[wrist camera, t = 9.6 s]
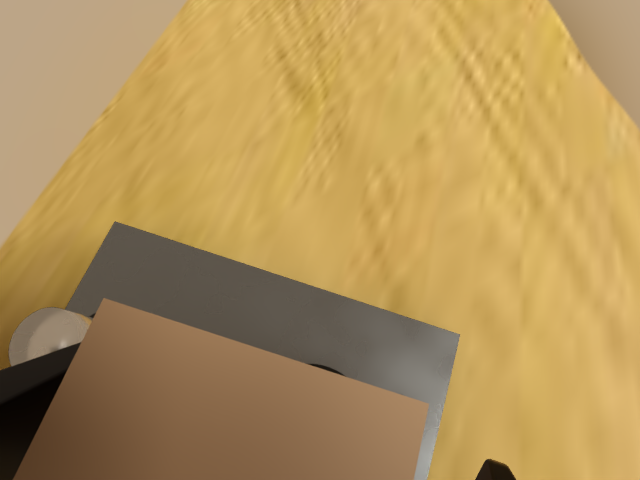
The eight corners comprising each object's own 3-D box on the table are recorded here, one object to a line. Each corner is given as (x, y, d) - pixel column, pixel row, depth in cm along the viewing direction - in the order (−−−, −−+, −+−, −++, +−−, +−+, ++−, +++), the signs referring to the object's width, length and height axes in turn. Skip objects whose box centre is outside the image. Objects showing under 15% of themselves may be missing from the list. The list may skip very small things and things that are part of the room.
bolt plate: (365, 716, 14) (372, 882, 9) (-28, 509, 18) (-172, 553, 13) (453, 338, 19) (489, 318, 14) (126, 230, 22) (63, 184, 17)
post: (344, 515, 15) (312, 967, 3) (237, 474, 16) (-105, 714, 4) (374, 396, 17) (429, 403, 5) (274, 363, 18) (103, 297, 6)
